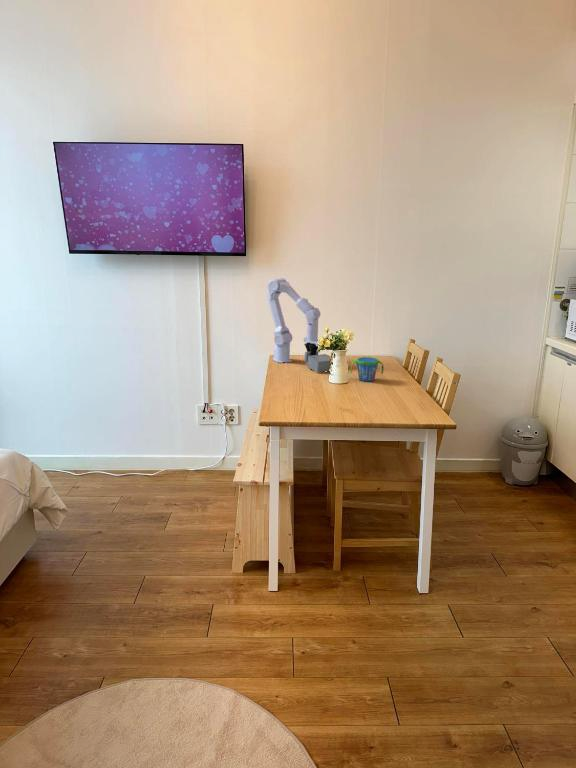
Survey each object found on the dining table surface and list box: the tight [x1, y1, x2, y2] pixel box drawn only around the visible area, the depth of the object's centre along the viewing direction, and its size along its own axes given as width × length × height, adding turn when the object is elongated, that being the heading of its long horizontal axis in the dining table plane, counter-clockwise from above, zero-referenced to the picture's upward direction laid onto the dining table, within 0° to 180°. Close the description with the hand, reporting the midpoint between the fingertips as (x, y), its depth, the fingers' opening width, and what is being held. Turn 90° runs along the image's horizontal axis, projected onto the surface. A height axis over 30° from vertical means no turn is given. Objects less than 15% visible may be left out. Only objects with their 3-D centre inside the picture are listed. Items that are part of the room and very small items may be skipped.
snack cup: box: [350, 356, 384, 382], centre depth 270 cm, size 16×10×10 cm
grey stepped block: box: [303, 350, 331, 373], centre depth 290 cm, size 17×10×6 cm, turn 27°
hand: (311, 357), depth 296 cm, fingers closed on grey stepped block, 2 cm apart
